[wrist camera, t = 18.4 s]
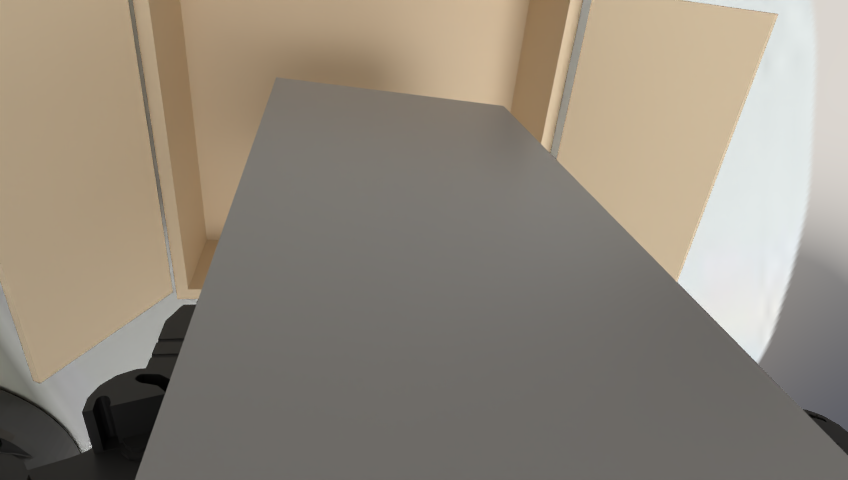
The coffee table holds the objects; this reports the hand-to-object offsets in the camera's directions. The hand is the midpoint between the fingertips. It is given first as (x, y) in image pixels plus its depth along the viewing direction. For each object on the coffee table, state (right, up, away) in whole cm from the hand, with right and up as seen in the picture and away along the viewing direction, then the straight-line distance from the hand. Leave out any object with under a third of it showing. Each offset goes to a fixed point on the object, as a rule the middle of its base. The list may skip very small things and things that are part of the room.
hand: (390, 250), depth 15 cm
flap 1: (-10, +2, +3) cm, 11 cm away
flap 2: (+9, +3, +6) cm, 11 cm away
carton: (-2, +7, +12) cm, 14 cm away
